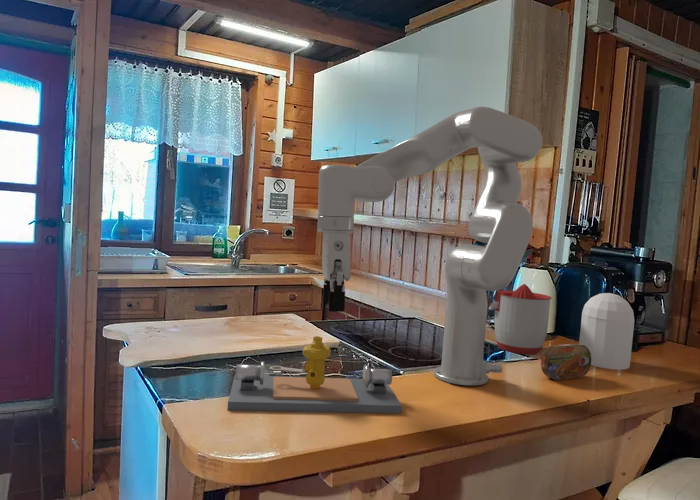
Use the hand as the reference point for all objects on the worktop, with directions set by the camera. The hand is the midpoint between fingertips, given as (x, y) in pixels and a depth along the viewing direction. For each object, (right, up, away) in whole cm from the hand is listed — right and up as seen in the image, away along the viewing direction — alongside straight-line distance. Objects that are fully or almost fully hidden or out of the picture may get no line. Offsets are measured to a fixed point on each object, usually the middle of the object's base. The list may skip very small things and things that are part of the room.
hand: (333, 306), depth 114 cm
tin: (+57, -20, +21) cm, 64 cm away
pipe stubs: (-4, -16, -6) cm, 17 cm away
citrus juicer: (+53, -18, +47) cm, 73 cm away
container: (+75, -20, +39) cm, 87 cm away
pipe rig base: (-4, -17, -6) cm, 19 cm away
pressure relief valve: (-7, -15, -6) cm, 18 cm away
